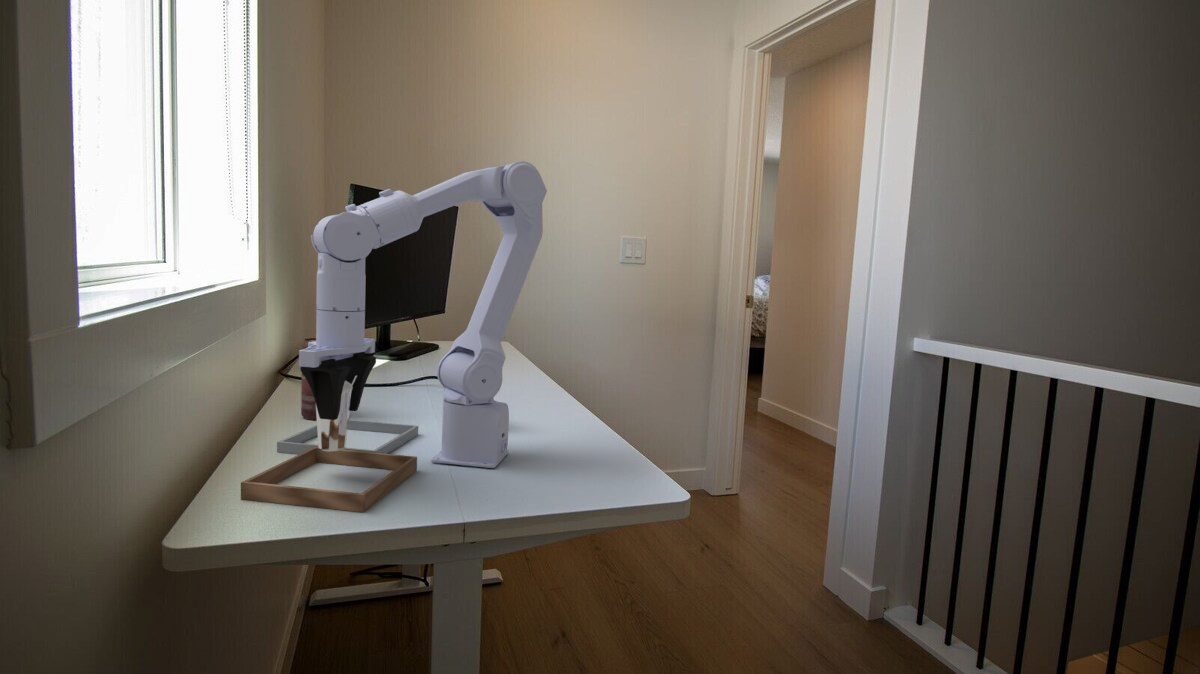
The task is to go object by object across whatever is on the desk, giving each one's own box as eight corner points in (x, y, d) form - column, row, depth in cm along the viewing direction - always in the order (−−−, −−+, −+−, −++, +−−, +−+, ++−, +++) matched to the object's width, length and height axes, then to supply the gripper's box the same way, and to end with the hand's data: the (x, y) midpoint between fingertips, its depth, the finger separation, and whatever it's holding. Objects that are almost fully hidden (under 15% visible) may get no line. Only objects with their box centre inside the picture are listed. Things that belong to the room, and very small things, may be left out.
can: (313, 422, 106) (314, 342, 104) (294, 415, 109) (295, 337, 108) (346, 417, 110) (347, 340, 109) (327, 410, 114) (328, 336, 113)
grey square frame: (418, 434, 102) (418, 425, 102) (375, 461, 88) (375, 451, 87) (332, 426, 104) (333, 418, 104) (276, 452, 89) (276, 442, 89)
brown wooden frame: (416, 470, 85) (417, 456, 85) (363, 512, 70) (363, 495, 70) (314, 460, 86) (314, 446, 86) (240, 499, 72) (240, 482, 71)
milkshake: (344, 456, 78) (346, 379, 76) (305, 450, 79) (306, 374, 77) (363, 445, 82) (365, 372, 81) (326, 440, 83) (327, 367, 82)
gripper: (342, 305, 86) (340, 400, 87) (275, 310, 71) (274, 424, 73) (390, 308, 85) (387, 404, 86) (331, 315, 71) (330, 430, 72)
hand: (339, 414), depth 80 cm, fingers closed on milkshake, 4 cm apart
